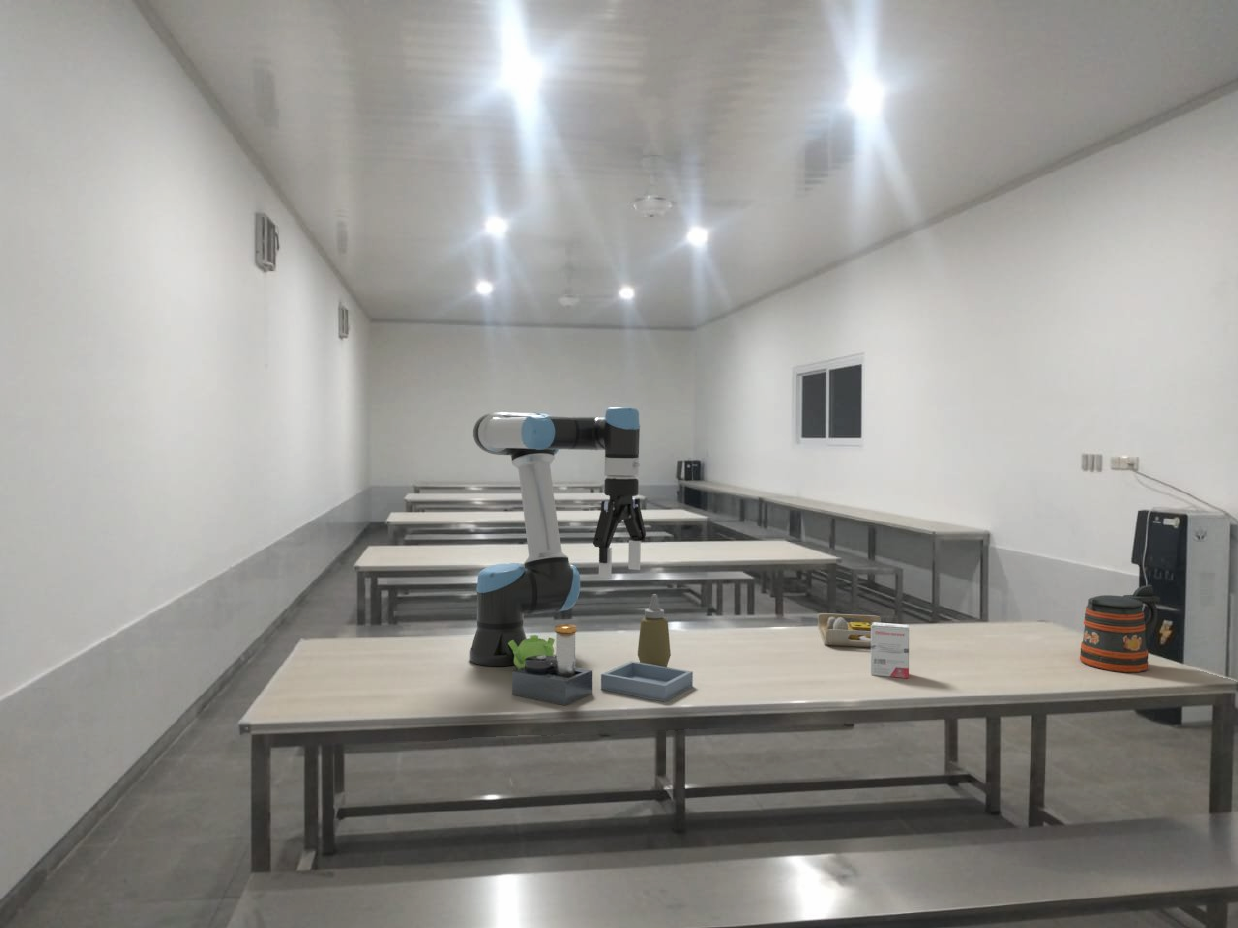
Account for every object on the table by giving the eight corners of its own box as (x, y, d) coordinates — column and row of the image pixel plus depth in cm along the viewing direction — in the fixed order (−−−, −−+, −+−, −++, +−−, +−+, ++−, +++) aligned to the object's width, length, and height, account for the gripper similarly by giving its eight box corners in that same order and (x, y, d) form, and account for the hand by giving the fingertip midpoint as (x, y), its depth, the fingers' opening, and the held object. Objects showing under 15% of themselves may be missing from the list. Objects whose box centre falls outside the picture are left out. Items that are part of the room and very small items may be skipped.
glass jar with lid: (550, 697, 169) (550, 627, 169) (563, 691, 173) (563, 623, 173) (568, 701, 167) (568, 629, 166) (580, 695, 171) (581, 625, 170)
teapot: (560, 676, 185) (561, 640, 185) (511, 679, 182) (511, 642, 182) (554, 663, 196) (554, 629, 196) (507, 666, 193) (507, 631, 193)
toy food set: (895, 652, 211) (895, 624, 211) (825, 649, 214) (825, 620, 214) (880, 631, 236) (881, 605, 236) (817, 628, 239) (818, 603, 239)
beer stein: (1125, 654, 209) (1127, 579, 209) (1177, 670, 195) (1179, 588, 194) (1066, 659, 204) (1067, 581, 204) (1115, 674, 190) (1116, 591, 190)
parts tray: (600, 689, 175) (601, 674, 175) (631, 675, 186) (631, 661, 186) (665, 701, 167) (665, 685, 167) (692, 686, 178) (692, 671, 178)
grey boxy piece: (512, 694, 171) (512, 658, 171) (540, 682, 180) (540, 648, 179) (565, 705, 164) (565, 667, 164) (592, 693, 172) (592, 657, 172)
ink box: (908, 673, 190) (909, 623, 190) (909, 678, 185) (909, 627, 185) (870, 669, 193) (871, 620, 193) (870, 675, 188) (870, 624, 188)
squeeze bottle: (668, 674, 187) (669, 598, 187) (634, 672, 189) (635, 596, 188) (672, 665, 195) (673, 592, 194) (640, 663, 196) (641, 591, 196)
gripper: (608, 480, 162) (607, 583, 163) (661, 476, 184) (659, 567, 185) (577, 478, 166) (576, 580, 167) (632, 475, 188) (631, 564, 188)
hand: (620, 573), depth 176 cm, fingers open, 13 cm apart
